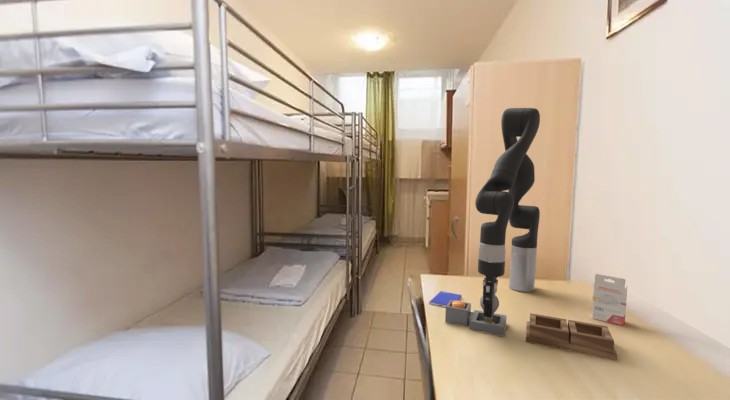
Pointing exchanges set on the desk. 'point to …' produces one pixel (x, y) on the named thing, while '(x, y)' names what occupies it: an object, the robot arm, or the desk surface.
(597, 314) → the ink cartridge box
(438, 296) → the blue book
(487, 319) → the light bulb
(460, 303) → the orange ball
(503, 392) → the desk surface
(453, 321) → the bulb socket block
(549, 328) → the bulb rack
